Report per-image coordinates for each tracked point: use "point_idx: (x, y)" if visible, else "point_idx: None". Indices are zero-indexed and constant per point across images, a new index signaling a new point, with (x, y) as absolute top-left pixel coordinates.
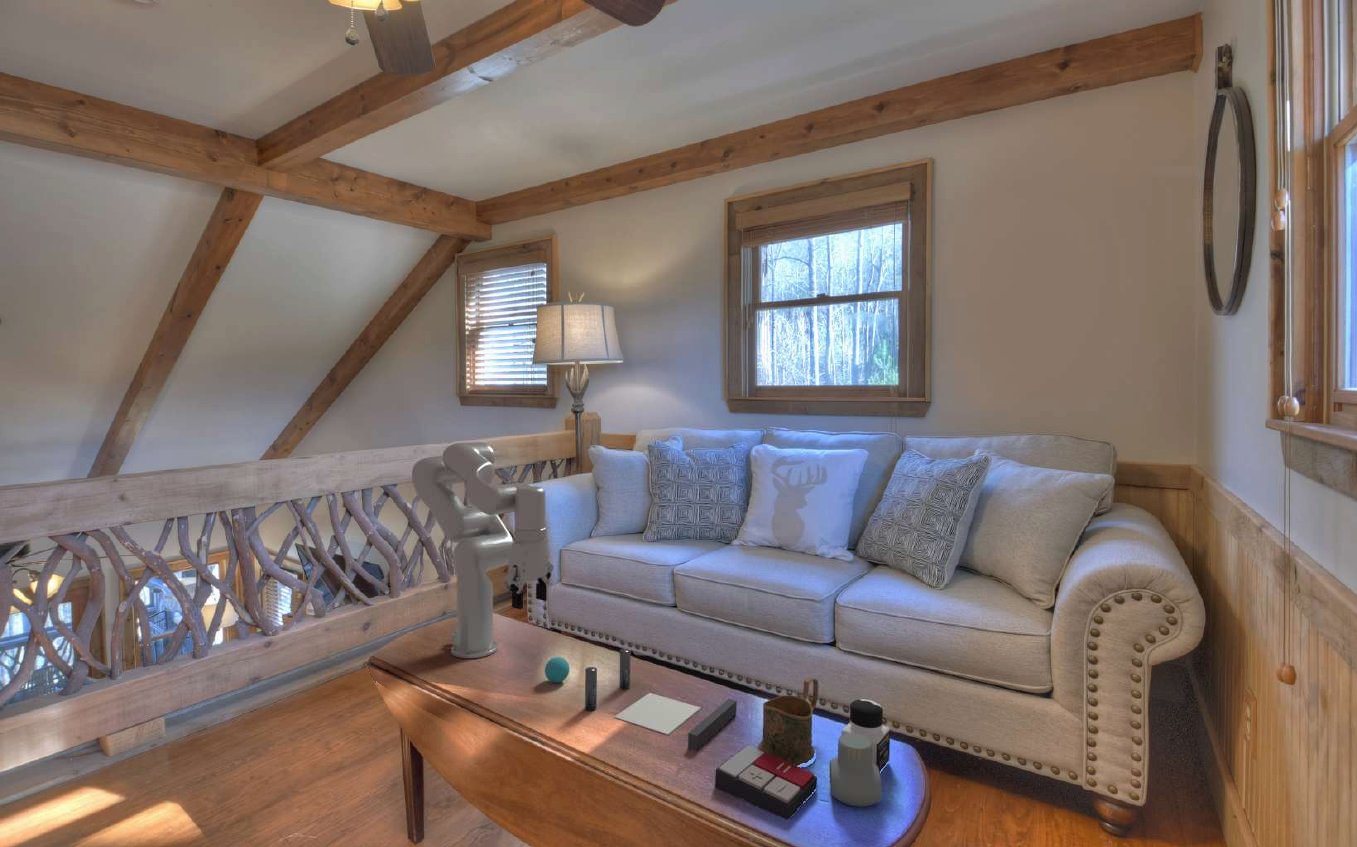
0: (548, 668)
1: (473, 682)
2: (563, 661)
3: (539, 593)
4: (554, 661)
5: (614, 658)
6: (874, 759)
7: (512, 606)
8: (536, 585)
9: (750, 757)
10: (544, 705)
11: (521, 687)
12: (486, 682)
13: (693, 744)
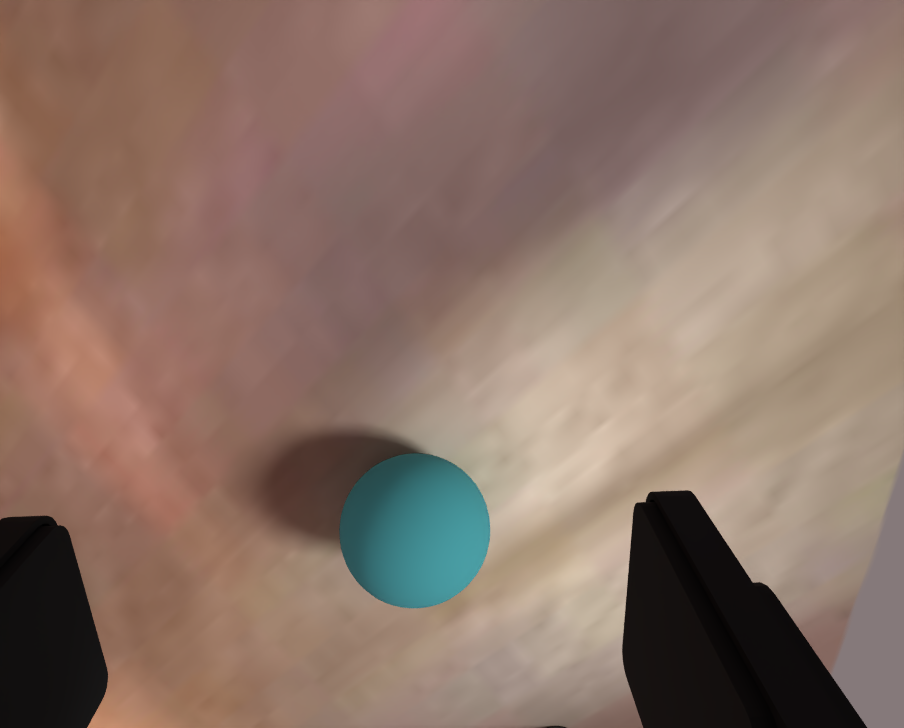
0: (343, 541)
1: (66, 79)
2: (423, 605)
3: (665, 648)
4: (376, 581)
5: (843, 528)
6: None
7: (5, 530)
8: (746, 721)
9: None
10: (190, 608)
11: (240, 388)
12: (131, 157)
13: None
